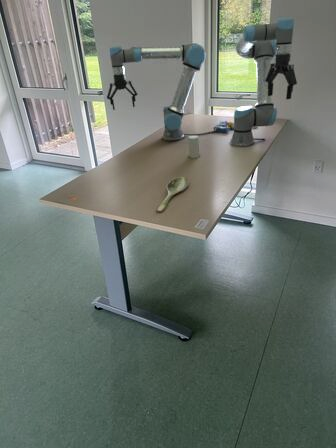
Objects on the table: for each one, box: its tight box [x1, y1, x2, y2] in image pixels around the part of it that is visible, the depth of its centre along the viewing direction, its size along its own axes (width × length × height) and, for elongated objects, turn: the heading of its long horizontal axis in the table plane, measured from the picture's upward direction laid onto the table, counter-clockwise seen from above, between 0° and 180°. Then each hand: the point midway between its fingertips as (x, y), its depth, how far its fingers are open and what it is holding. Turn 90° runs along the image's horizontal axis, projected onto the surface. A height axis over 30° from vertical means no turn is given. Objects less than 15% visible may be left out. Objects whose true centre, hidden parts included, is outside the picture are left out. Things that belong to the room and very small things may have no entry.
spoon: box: [157, 176, 190, 213], centre depth 167 cm, size 35×11×2 cm, turn 159°
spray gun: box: [213, 120, 234, 133], centre depth 256 cm, size 21×4×15 cm
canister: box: [188, 135, 200, 159], centre depth 209 cm, size 6×6×13 cm
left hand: (123, 108), depth 224 cm, fingers open, 13 cm apart
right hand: (279, 97), depth 181 cm, fingers open, 13 cm apart
